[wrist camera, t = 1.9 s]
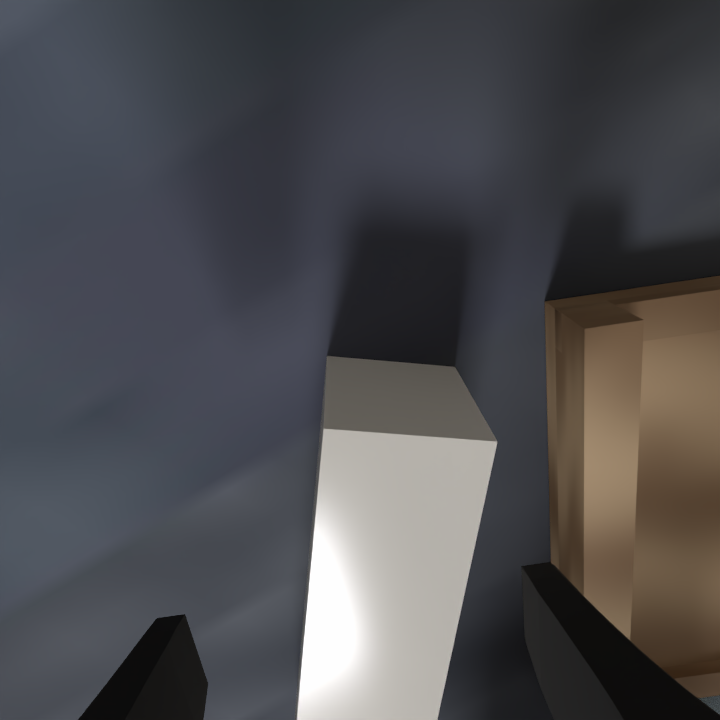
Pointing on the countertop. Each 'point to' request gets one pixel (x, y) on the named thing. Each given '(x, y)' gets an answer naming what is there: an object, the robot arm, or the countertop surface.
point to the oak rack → (641, 466)
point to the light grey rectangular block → (390, 538)
